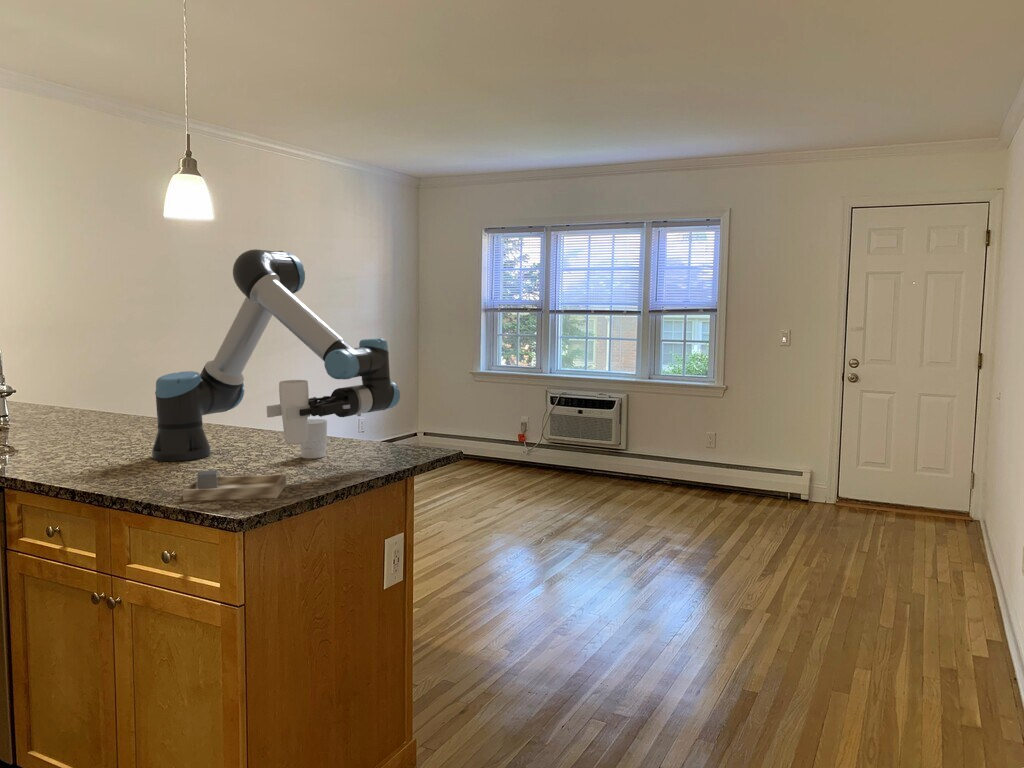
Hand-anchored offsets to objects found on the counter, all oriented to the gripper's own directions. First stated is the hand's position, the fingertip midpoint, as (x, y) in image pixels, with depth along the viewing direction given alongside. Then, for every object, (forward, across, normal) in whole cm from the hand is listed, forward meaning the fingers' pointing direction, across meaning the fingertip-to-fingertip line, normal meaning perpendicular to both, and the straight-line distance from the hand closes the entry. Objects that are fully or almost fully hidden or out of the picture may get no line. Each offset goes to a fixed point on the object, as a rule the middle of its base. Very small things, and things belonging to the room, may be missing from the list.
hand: (277, 413), depth 188 cm
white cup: (-27, +20, -18) cm, 38 cm away
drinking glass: (-5, 0, -8) cm, 10 cm away
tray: (+11, +2, -17) cm, 20 cm away
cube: (+15, +6, -16) cm, 23 cm away
